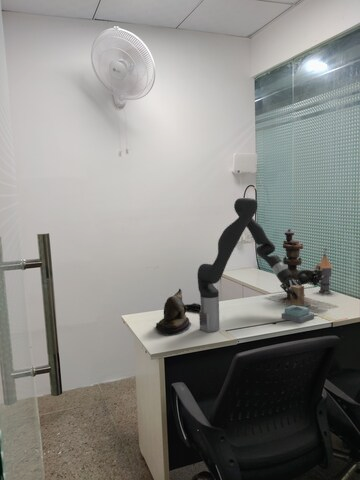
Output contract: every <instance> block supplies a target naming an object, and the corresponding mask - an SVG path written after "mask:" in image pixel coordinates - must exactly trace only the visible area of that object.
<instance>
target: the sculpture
mask: <svg viewBox="0 0 360 480" xmlns="http://www.w3.org/2000/svg"><path fill="white" fill-rule="evenodd" d="M185 305H186V304H185V303H184V301H183V291H182V289H181V288H179V289H178V291H177V292H175V294H173V295H172V296H169V297H168V298H167V299H166V300H165V302H164V307H163V317H162V319H161V320H159V321H158V322H156V323H155V324H156V325H155V328H156V331H158V333H160V334H163V335H165V336H167V337H169V336H173V335H178V334H183V333H185V332H187V330H188V329H190V327H191V326H192V322H190V319H189V318H188V317H187V314H186V312H187V311H188V310H187V307H186V306H185Z"/></svg>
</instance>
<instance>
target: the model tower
mask: <svg viewBox="0 0 360 480" xmlns="http://www.w3.org/2000/svg"><path fill="white" fill-rule="evenodd" d="M327 251H328V249H327V248H324V252H327ZM322 255H323V256H322V258H321V260H320V261H319V263H317V264H316V267H315V268H314V269H315V270H317V269H318V266H320V268H321V270H322V274H323V275H322V277H323V279H322V280H320V281H319V283H318V285H320V286H319V287H320V290H319V293H322V294H324V295H325V294H332V291H331V290H330V285H331V283H330V278H331V276H332V269H333V268H334V267H333V265H332V264H331V262H330V261H329V259H328V257H327V255H326V253H324V254H322Z"/></svg>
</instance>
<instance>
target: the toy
mask: <svg viewBox="0 0 360 480" xmlns="http://www.w3.org/2000/svg"><path fill="white" fill-rule="evenodd" d="M184 305H185V306H186V307H187V311H189V310H190V311H198V312H199V311H201V303H195V302H193V303H191V304H189V303H188V304H184Z"/></svg>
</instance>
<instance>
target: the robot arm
mask: <svg viewBox="0 0 360 480" xmlns="http://www.w3.org/2000/svg"><path fill="white" fill-rule="evenodd" d="M233 208H234V209H233V210H234V212H235V213H236V215H237V216H238V217H237V218H236V219H235V220H234V221H233V222H231V223H230V224H229V225H227V226H226V228H225V229H224V230H223V231H222V233H221V235H220V237H219V239H218V240H217V241H218V242H217V254H216V258H215V260H214V261H213V263H212V264H211V263H202V264H200V266H199V267H198V269H197V284H198V285H197V286H198V291H199V294H200V297H199V298H200V305H201V311H199V310H198V314H199V315H198V316H199V330H201V331H204V332H206V333H213V332H218V331H220V327H221V326H220V300H219V299H220V297H219V296H220V295H219V294H220V293H219V289H217V287H215V285H214V284H217V283H218V282H219V281H220V280H221V278H222V276H223V274H224V272H225V269H226V266H227V265H228V262H229V260H230V257H231V256H232V254H233V251H234V250H235V248H236V246H237V245H238V243H239V241H240V239H241V237H242V235H243V234H244V231H245V230H246V228H247V229H248V231H249V233H250V234H251V237H252V238H253V240H254V243H255V244H256V245H259V246H257V247H256V249H255V251H256V254H257V255H258V256H259V258H261V259H263V260H264V261H265V262H266V263H267V264H268V265H269V267H270V268H271V269H272V272H273V273H274V275H275V276H276V277H277V279H278V280H279V282H280V285H279V286H280V288H281V289H282V290H283V291H284V293H287V294H288V293H290V294H291V295H292V296H293V298H294V299H297V298H298V296H297V295H296V293H295V292H294V290H293V289H292V286H293V285H301V283H300V281H299V279H297V280H295V279H293V278H292V273H291V272H290V271H289V269H288V266H287V264H284V263H283V260H281V258H280V256H279V255H277V254H273V255H271V254H272V253H274V252H275V251H276V246H275V244H274V243H273V242H272V241H271V240H270V239H269V238H268V237H267V235H266V233H265V230H264V228H263V227H262V226H261V225H260V224H259V223H258V222H257V221H256V220H255V219H254V218H253V217H254V216H255V214H257V213H256V212H257V211H258V210H257V209H258V201H257V200H256V199H255V198H251V197H250V198H249V197H246V198H245V197H240V198H237V199H236V200H235V201H234V206H233ZM301 286H303V285H301ZM290 289H291V290H290ZM287 290H288V291H287ZM304 297H306V294H305V293H304Z"/></svg>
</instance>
